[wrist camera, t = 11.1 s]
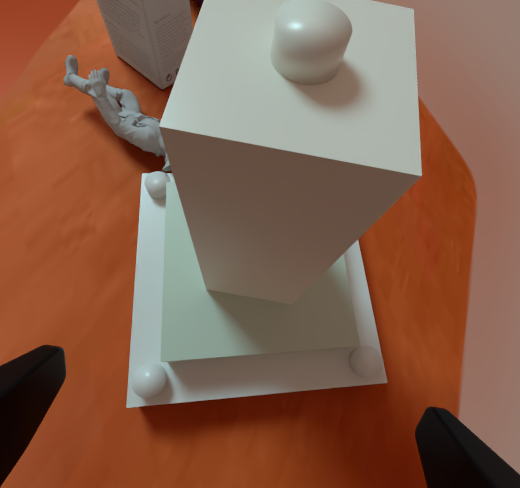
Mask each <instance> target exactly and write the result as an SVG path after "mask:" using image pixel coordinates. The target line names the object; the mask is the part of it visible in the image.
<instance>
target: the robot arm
mask: <svg viewBox="0 0 520 488" xmlns="http://www.w3.org/2000/svg"><path fill="white" fill-rule="evenodd" d="M65 377H66V364H65V353H64V349H63V348H62V347H58V346H52V345H43V346H40V347H38V348H36V349H34V350H32V351H30V352H28V353H26V354H24V355H22V356H20V357H18V358H16V359H14V360H12V361H9V362H7V363H5V364H3V365H1V366H0V487H1V485H2V484H3V482H4V481H5V479H6V478H7V476H8V475H9V474H10V472H11V471H12V469H13V468H14V466H15V465H16V463H17V462H18V460H19V459H20V457H21V456H22V454H23V453H24V451H25V450H26V448H27V446H28V445H29V443H30V441H31V440H32V438H33V436H34V434H35V433H36V431H37V429H38V427H39V425H40V424H41V422H42V420H43V418H44V417H45V415H46V413H47V411H48V409H49V408H50V406H51V404H52V402H53V400H54V399H55V397H56V395H57V393H58V392H59V390H60V388H61V386H62V384H63V382H64V380H65ZM415 437H416V442H417V446H418V450H419V455H420V459H421V463H422V467H423V471H424V475H425V479H426V483H427V487H428V488H520V475H519V474H518V473H517V472H516V471H515V470H514V469H513V468H512V467H510V466H509V465H508V464H507V463H506V462H505V461H504V460H503V459H502V458H500V457H499V456H498V455H497V454H496V453H495V452H494V451H493V450H491V449H490V448H489V447H488V446H487V445H486V444H485V443H484V442H483V441H481V440H480V439H479V438H478V437H477V436H476V435H475V434H474V433H473V432H471V431H470V430H469V429H468V428H467V427H466V426H465V425H464V424H463V423H461V422H460V421H459V420H458V419H457V418H456V417H455V416H454V415H453V414H451V413H450V412H449V411H448V410H446V409H444V408H438V407H428V408H427V409H426V410H425V412H424V414H423V416H422V418H421V419H420V421H419V423H418V425H417V427H416V431H415Z"/></svg>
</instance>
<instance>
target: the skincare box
mask: <svg viewBox="0 0 520 488" xmlns="http://www.w3.org/2000/svg"><path fill="white" fill-rule="evenodd" d="M97 3H98V5H99V8H100V11H101V14H102V17H103V19H104V22H105V25H106V28H107V31H108V34H109V36H110V39H111V42H112V45H113V48H114V50H115V53H116V55H117V56H119V57H120V58H121V59H123V60H124V61H125V62H127V63H128V64H129V65H131V66H132V67H133V68H135V69H136V70H137V71H138V72H140V73H141V74H142V75H144V76H145V77H146V78H148V79H149V80H150V81H151V82H153V83H154V84H155V85H157V86H158V87H159V88H160V89H165V88H166V87H168V86H169V85H171V84H172V83H174V82H175V80H176V77H177V74H178V72H179V69H180V66H181V63H182V60H183V58H184V55H185V52H186V49H187V46H188V44H189V41H190V38H191V35H192V32H193V28H192V19H191V9H190V0H97Z"/></svg>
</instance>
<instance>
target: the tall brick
mask: <svg viewBox="0 0 520 488" xmlns="http://www.w3.org/2000/svg"><path fill="white" fill-rule="evenodd" d="M416 70H417V69H416V48H415V28H414V9H411V8H405V7H401V6H396V5H391V4H386V3H381V2H376V1H371V0H204V2H203V4H202V7H201V10H200V13H199V16H198V18H197V21H196V24H195V27H194V30H193V32H192V35H191V38H190V41H189V44H188V46H187V49H186V52H185V55H184V58H183V60H182V63H181V66H180V69H179V72H178V74H177V77H176V80H175V83H174V86H173V88H172V91H171V94H170V97H169V100H168V102H167V105H166V108H165V111H164V114H163V116H162V119H161V122H160V125H159V128H160V132H161V135H162V139H163V142H164V146H165V149H166V153H167V156H168V159H169V163H170V166H171V170H172V173H173V177H174V180H175V184H176V187H177V191H178V194H179V197H180V201H181V204H182V208H183V211H184V215H185V218H186V222H187V225H188V228H189V232H190V235H191V239H192V242H193V246H194V249H195V253H196V256H197V260H198V263H199V266H200V270H201V273H202V277H203V280H204V284H205V287H206V290H211V291H217V292H223V293H228V294H234V295H240V296H245V297H251V298H257V299H263V300H268V301H274V302H280V303H285V304H291V305H292V304H293V303H294V302H295V301H296V300H297V299H298V298H299V297H300V296H301V295H302V294H303V293H304V292H305V291H306V290H307V289H308V288H309V287H310V286H311V285H312V284H313V283H315V282H316V281H317V280H318V279H319V278H320V277H321V276H322V275H323V274H324V273H325V272H326V271H327V270H328V269H329V268H330V267H331V266H332V265H333V264H334V263H335V262H336V261H337V260H338V259H339V258H340V257H341V256H342V255H343V254H344V253H345V252H346V251H347V250H348V249H349V248H350V247H351V246H352V245H353V244H354V243H355V242H356V241H357V240H358V239H359V238H360V237H361V236H362V235H363V234H364V233H365V232H366V231H367V230H368V229H369V228H370V227H371V226H372V225H373V224H374V223H375V222H376V221H377V220H378V219H379V218H380V217H381V216H382V215H383V214H384V213H385V212H386V211H387V210H388V209H389V208H390V207H391V206H392V205H393V204H394V203H395V202H396V201H397V200H398V199H399V198H400V197H401V196H402V195H403V194H404V193H405V192H406V191H407V190H408V189H409V188H410V187H411V186H412V185H413V184H414V183H415V182H416V181H417V180H418V179H419V178H420V177H421V176H422V171H421V150H420V130H419V110H418V90H417V71H416Z"/></svg>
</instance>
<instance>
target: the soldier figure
mask: <svg viewBox="0 0 520 488" xmlns="http://www.w3.org/2000/svg"><path fill="white" fill-rule="evenodd" d="M65 66H66V69H67V74H66V76H65V77H64V84H65V85H67V86H69V87H75V88H76V89H78V90H79V91H81V92H83V93H85V94H87V95H90V96H91V97H92V98H93V99H94V102H95V104H96V106H97V108H98V109H99V111H100V112H101V114H102V116H103V118H104V119H105V121H106V123H107V124H108V125H109V126H110V128H111V129H112V130H113V131H114V134H116V135H117V136H119V137H121V138H123V139H126V140H127V141H129V142H130V143H131V144H134V145H135V146H138V147H139V148H141V149H142V150H143V151H147V152H153V153H154V154H155V155H156V156H160V155H163V156H164V155H166V157H165V163H166V164H165V166H164V167H163V169H162V170H163V171H172V170H171V166H170V163H169V159H168V156H167V153H166V149H165V146H164V142H163V139H162V135H161V132H160V128H159V125H160V120H159V119H156V118H154V117H149V116H144V115H143V114H142V113H141V107H140V104H139V102H138V99H137V97H136V96H135V95H134V94H133V93H132V92H131V91H129V90H126V89H123V90H122V89H118V88H113V87H111V86H108V81H109V71H108V69H106V68H102V69H101V70H100V71H99V70H98V75H97V72H96V70H94V74H95V77H94V74H93V71H91V75H89V79H90V80H86V79H83V78H81V77H79V76H77V73H78V63H77V59H76V58H75V56H72V55H69V56H68V57H67V59H66V62H65ZM91 76H92V78H91ZM95 78H96V79H95ZM117 101H118V102H120V104H121V105H122V108H121V107H120V106H119V104H118V103H117Z"/></svg>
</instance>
